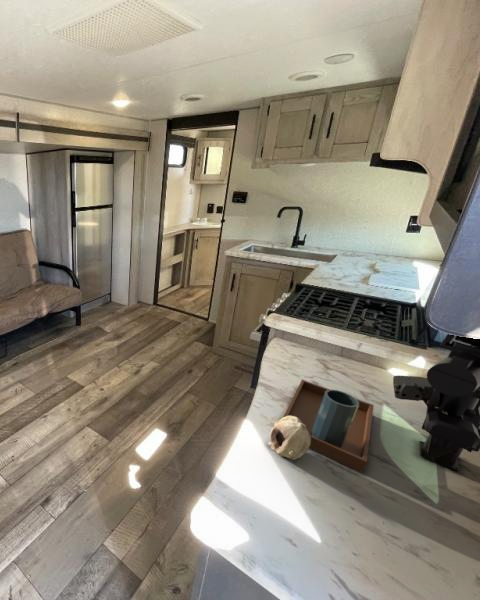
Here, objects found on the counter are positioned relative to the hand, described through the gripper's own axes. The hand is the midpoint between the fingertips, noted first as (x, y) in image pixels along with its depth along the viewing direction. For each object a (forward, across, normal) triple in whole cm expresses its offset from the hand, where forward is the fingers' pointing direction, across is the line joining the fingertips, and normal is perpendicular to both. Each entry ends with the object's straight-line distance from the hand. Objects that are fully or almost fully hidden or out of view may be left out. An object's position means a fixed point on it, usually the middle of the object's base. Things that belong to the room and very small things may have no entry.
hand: (429, 443), depth 66 cm
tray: (+13, -12, -16) cm, 24 cm away
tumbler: (+12, -4, -15) cm, 20 cm away
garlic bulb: (+13, +7, -22) cm, 26 cm away
